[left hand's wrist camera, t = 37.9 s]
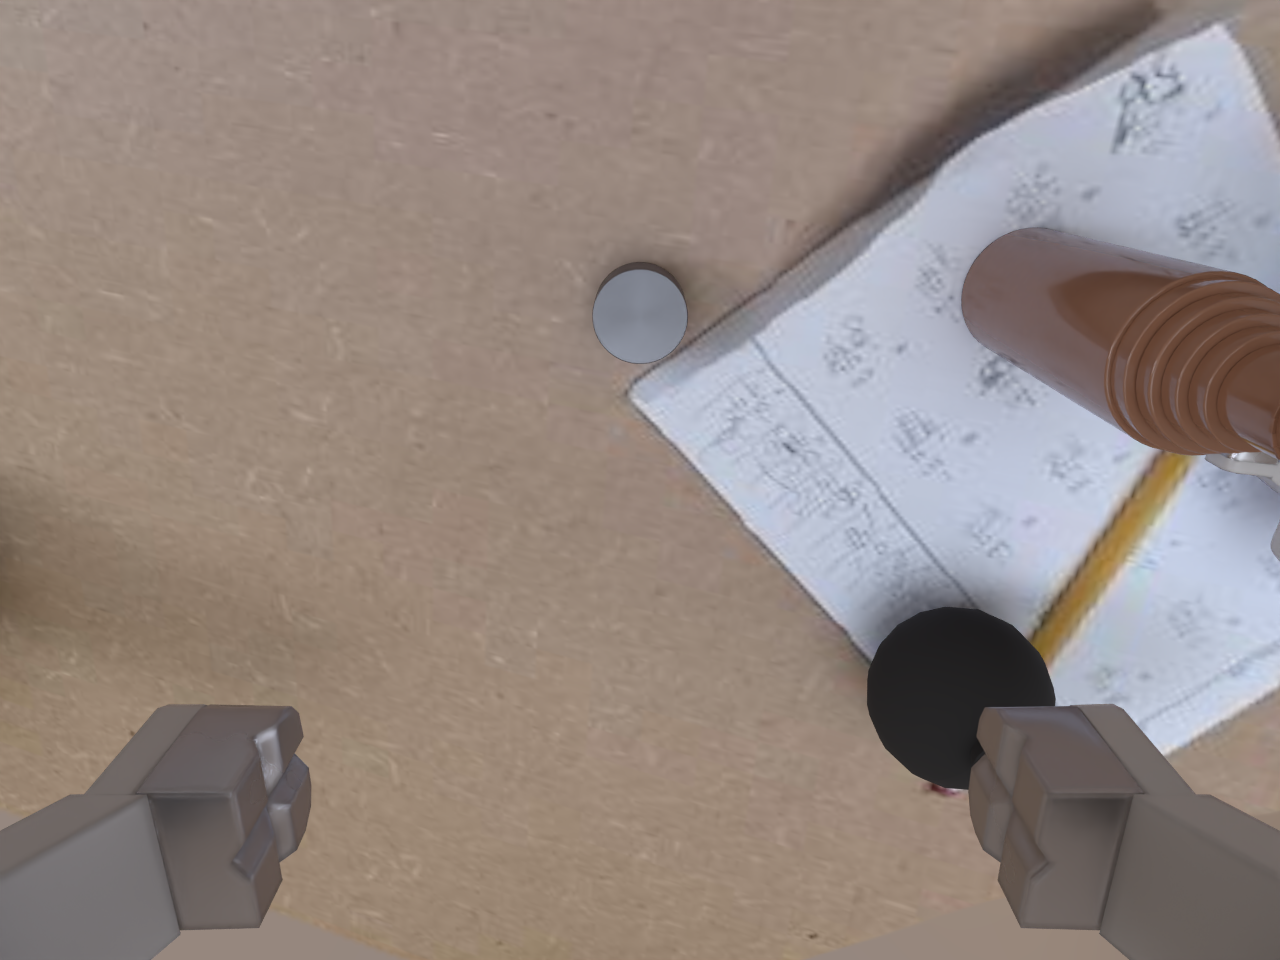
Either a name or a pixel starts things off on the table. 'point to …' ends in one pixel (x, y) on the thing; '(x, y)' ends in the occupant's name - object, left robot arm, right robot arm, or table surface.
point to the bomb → (949, 688)
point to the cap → (640, 313)
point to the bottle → (1135, 338)
